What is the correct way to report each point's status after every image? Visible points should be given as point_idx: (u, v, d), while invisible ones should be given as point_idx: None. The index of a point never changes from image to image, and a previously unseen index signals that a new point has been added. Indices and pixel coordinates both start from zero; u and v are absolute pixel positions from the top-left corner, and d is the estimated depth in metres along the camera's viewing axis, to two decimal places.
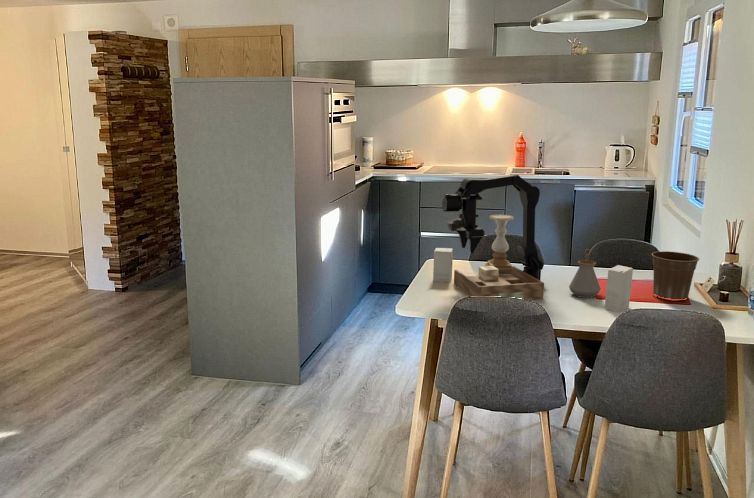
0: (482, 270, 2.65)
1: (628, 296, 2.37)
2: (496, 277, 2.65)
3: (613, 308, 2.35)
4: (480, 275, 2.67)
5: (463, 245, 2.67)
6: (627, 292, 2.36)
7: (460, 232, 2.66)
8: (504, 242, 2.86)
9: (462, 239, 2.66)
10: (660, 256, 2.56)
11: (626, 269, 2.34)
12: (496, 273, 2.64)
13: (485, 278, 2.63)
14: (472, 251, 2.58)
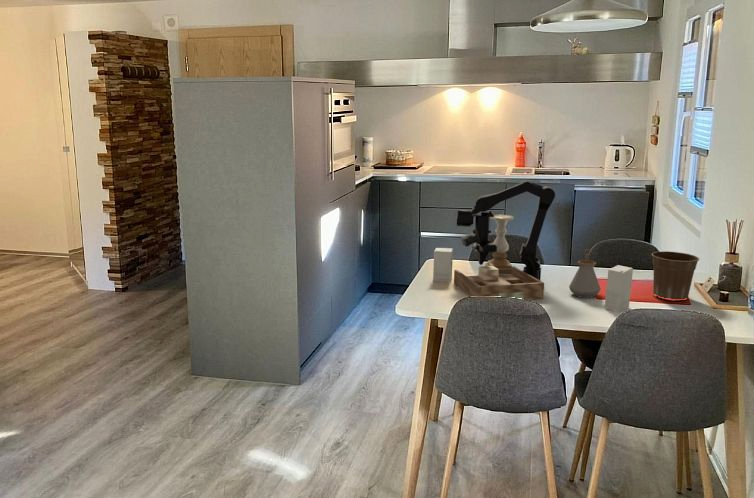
0: (482, 270, 2.65)
1: (628, 296, 2.37)
2: (496, 277, 2.65)
3: (613, 308, 2.35)
4: (480, 275, 2.67)
5: None
6: (627, 292, 2.36)
7: None
8: (504, 242, 2.86)
9: None
10: (660, 256, 2.56)
11: (626, 269, 2.34)
12: (496, 273, 2.64)
13: (485, 278, 2.63)
14: (481, 263, 2.74)
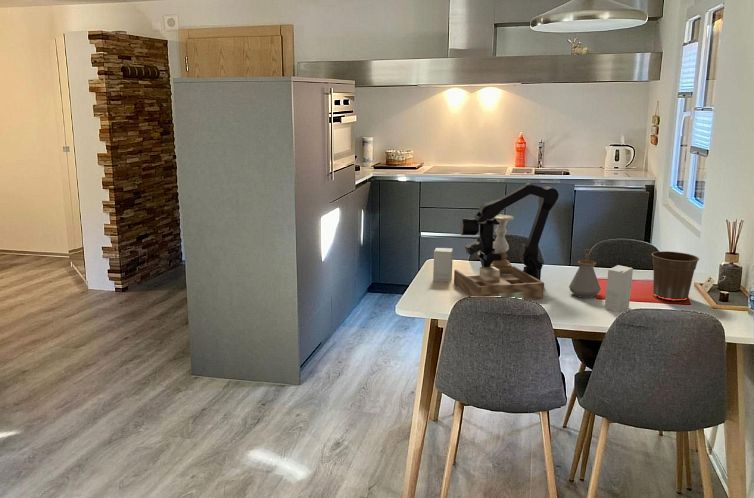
0: (483, 271, 2.64)
1: (628, 296, 2.37)
2: (497, 278, 2.63)
3: (613, 308, 2.35)
4: (481, 276, 2.66)
5: None
6: (627, 292, 2.36)
7: None
8: (504, 242, 2.86)
9: None
10: (660, 256, 2.56)
11: (626, 269, 2.34)
12: (497, 274, 2.63)
13: (486, 279, 2.62)
14: None
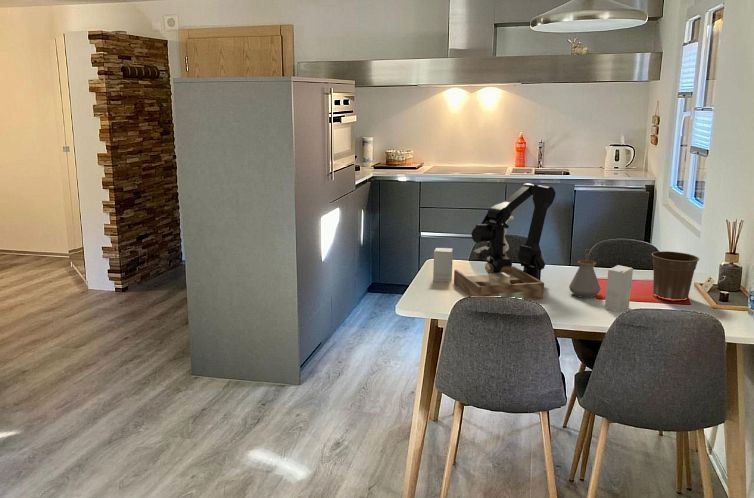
0: (493, 277, 2.54)
1: (628, 296, 2.37)
2: None
3: (613, 308, 2.35)
4: (490, 282, 2.57)
5: None
6: (627, 292, 2.36)
7: None
8: (504, 242, 2.86)
9: None
10: (660, 256, 2.56)
11: (626, 269, 2.34)
12: (507, 280, 2.54)
13: None
14: None
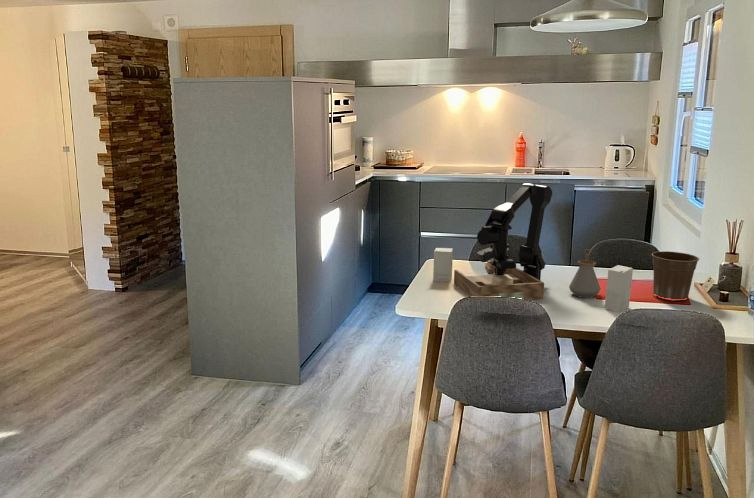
0: (496, 279, 2.51)
1: (628, 296, 2.37)
2: None
3: (613, 308, 2.35)
4: (494, 284, 2.53)
5: None
6: (627, 292, 2.36)
7: None
8: None
9: None
10: (660, 256, 2.56)
11: (626, 269, 2.34)
12: (511, 283, 2.50)
13: None
14: None
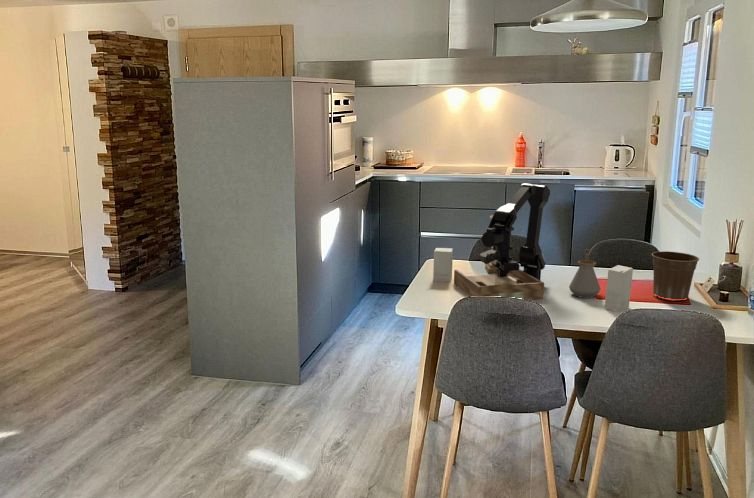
0: (499, 281, 2.48)
1: (628, 296, 2.37)
2: None
3: (613, 308, 2.35)
4: None
5: None
6: (627, 292, 2.36)
7: None
8: None
9: None
10: (660, 256, 2.56)
11: (626, 269, 2.34)
12: None
13: None
14: None
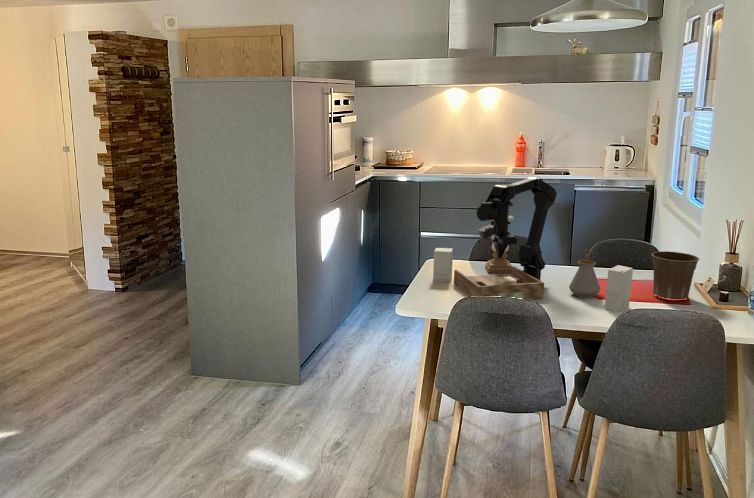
0: (499, 281, 2.48)
1: (628, 296, 2.37)
2: None
3: (613, 308, 2.35)
4: None
5: None
6: (627, 292, 2.36)
7: None
8: None
9: None
10: (660, 256, 2.56)
11: (626, 269, 2.34)
12: None
13: None
14: (500, 256, 2.57)
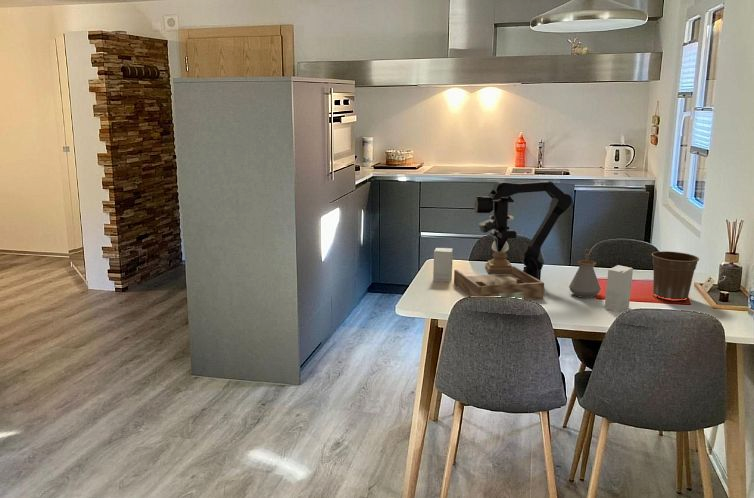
0: (499, 281, 2.48)
1: (628, 296, 2.37)
2: None
3: (613, 308, 2.35)
4: None
5: None
6: (627, 292, 2.36)
7: None
8: None
9: None
10: (660, 256, 2.56)
11: (626, 269, 2.34)
12: None
13: None
14: (499, 250, 2.67)
